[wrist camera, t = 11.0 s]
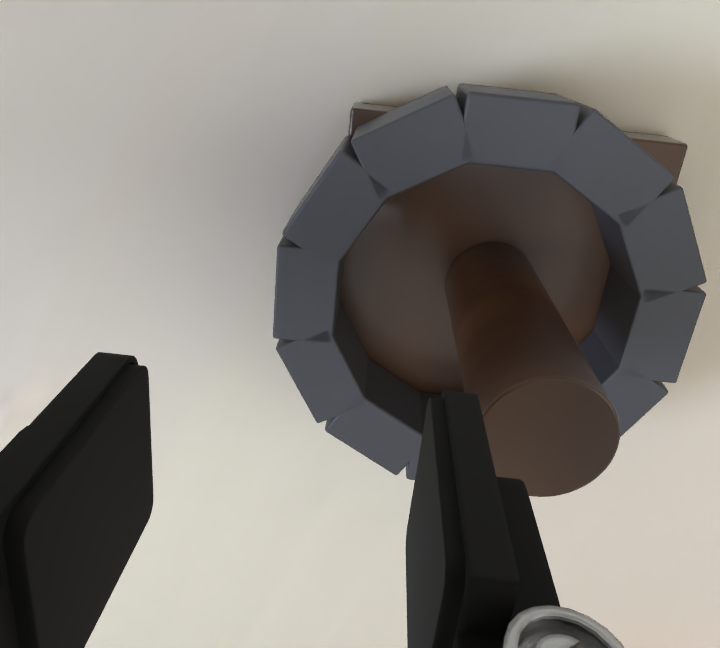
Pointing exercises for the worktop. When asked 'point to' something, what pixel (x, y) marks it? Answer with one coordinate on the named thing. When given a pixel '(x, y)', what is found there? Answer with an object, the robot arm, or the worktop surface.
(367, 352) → the peg stand
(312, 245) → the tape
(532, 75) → the worktop surface
